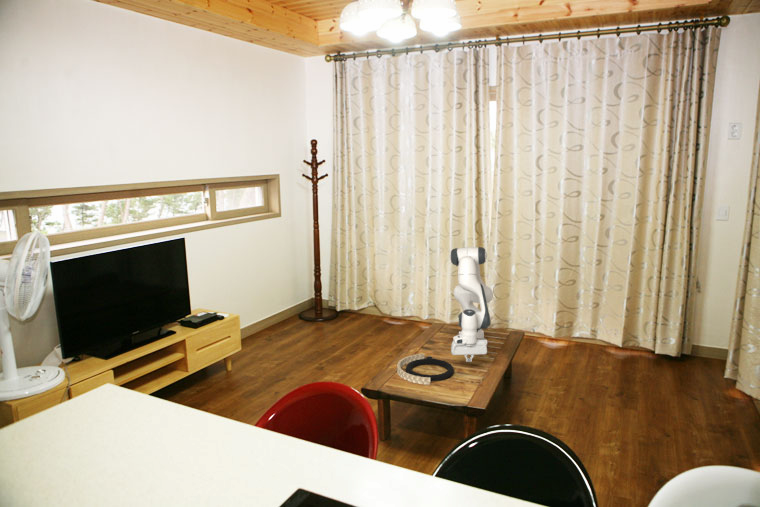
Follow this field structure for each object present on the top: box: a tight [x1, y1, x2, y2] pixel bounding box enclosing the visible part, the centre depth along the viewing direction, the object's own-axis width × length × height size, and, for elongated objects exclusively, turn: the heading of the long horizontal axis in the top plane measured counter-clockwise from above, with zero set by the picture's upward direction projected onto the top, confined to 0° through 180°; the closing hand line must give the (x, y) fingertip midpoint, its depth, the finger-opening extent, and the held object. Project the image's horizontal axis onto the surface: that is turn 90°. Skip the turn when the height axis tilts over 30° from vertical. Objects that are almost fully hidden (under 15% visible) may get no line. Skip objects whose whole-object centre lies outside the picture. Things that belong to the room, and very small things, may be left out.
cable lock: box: [404, 355, 455, 382], centre depth 296 cm, size 28×4×30 cm
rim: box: [396, 353, 431, 386], centre depth 296 cm, size 37×17×4 cm, turn 0°
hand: (468, 361), depth 296 cm, fingers closed
